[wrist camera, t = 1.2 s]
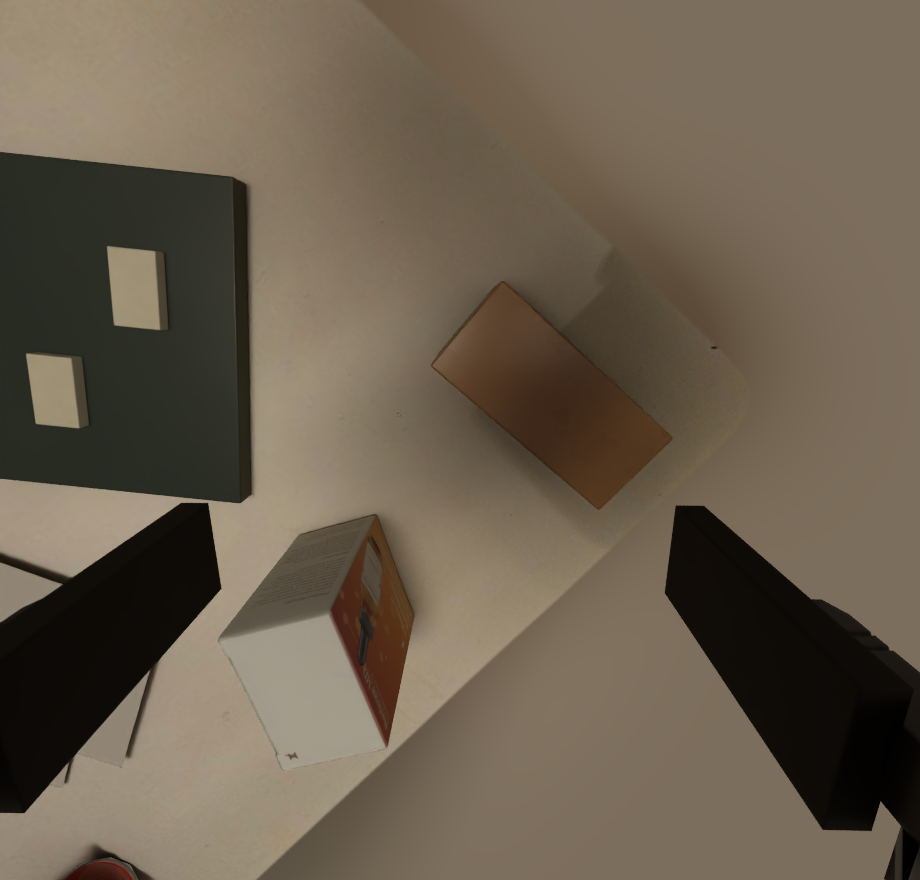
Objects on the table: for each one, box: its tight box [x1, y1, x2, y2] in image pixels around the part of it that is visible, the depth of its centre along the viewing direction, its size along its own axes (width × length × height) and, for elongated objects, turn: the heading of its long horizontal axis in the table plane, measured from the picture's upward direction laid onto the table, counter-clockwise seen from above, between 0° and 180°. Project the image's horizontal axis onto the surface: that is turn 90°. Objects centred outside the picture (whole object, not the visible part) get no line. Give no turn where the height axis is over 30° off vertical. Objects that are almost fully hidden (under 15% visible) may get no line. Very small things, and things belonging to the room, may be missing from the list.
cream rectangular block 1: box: [26, 352, 89, 428], centre depth 27 cm, size 4×2×1 cm, turn 174°
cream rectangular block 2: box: [107, 246, 168, 330], centre depth 26 cm, size 4×2×1 cm, turn 174°
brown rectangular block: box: [431, 281, 672, 510], centre depth 26 cm, size 11×5×6 cm, turn 49°
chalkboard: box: [0, 152, 251, 503], centre depth 28 cm, size 18×24×2 cm
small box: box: [218, 515, 414, 771], centre depth 27 cm, size 8×6×10 cm
